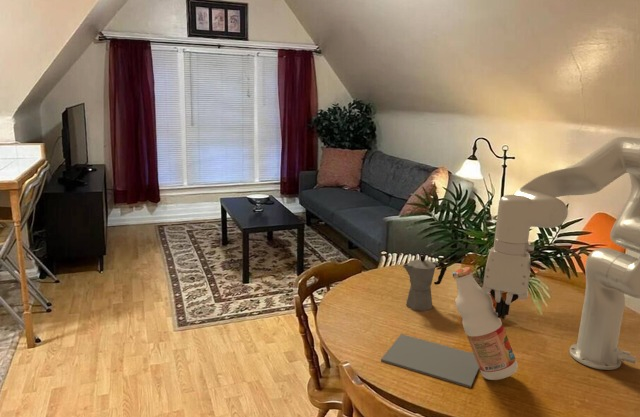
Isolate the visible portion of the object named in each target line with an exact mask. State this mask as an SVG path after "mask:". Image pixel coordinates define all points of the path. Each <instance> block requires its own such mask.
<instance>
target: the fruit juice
mask: <svg viewBox="0 0 640 417" xmlns="http://www.w3.org/2000/svg"><path fill="white" fill-rule="evenodd" d="M473 273H474V272H473V269H472V267H470V266H465V267H462V268H458V269H456V270H454V271H453V272H452V277H453V279H454V280H455V282H456V287H457V296H456V299H455V307H456V310H457V312H458V313H459V315H460V316H461V318H462V322H461V324H462V327H463V330H464V333H465V335H466V338H467V341H468V343H469V345H470V349H471V350H472V351H471V352H472V353H473V354H474V356H475V359H476V361H477V364H478V367H479V371H480V374H481V375H482V377H483V378H484V379H486V380H488V381H489V380H490V381H499V380H503V379H505V378H506V379H507V378H508V377H511V376H512V375H514V374H515V373H516V372H517V371H518V368H519V367H518V365H519V364H518V361H517V359H516V356H515V353H514V351H513V348H512V346H511V343H510V340H509V338H508V336H507V332H506V330H505V328H504V325H503V322H502V318H497V316H498V313H496V312H495V311H496V309H495V308H494V303H493V297H492V295H491V294H490V293H488V292H486V291H483V290H482V286H480V285H479V284H478V282H477V281H476V280H475V278H474V277H473Z"/></svg>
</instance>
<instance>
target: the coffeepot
mask: <svg viewBox="0 0 640 417" xmlns="http://www.w3.org/2000/svg"><path fill="white" fill-rule="evenodd" d="M438 262H440V263H438ZM444 265H446V263H445V262H444V261H442V262H441V261H430V260H427V259H426V256H425V255H420V259H417V258H416V259H413V260H409V261H408V262H407V263H405V264H403V266H402V267H403V268H404V269H405V270H406V272H407V274H408V276H409V283H410V287H409V291H408V295H407V299H406V307H408V309H411V310H412V311H417V310H418V311H419V312H426V311H431V309H433V301H432V300H433V299H432V288H431V285H432V284H434V285H437V286H438V285H440V284H441V282H442V280H443V278H444V276H445V273H446V271H447V268H448V266H447V267H445V268H442V267H443V266H444ZM437 268H441V269H440V272H439V275H438V277H437V281H434V280H433V279H434V274H435V270H436V269H437ZM433 281H434V283H433Z"/></svg>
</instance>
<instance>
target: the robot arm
mask: <svg viewBox="0 0 640 417" xmlns="http://www.w3.org/2000/svg"><path fill="white" fill-rule="evenodd" d="M624 174H628V175H629V178H630V184H631V186H630V187H631V188H630V192H629V193H630V194H629V195H628V198H627V200H626V202H625V204H624V205H623V208H621V211H620V213H619V215H618V216H617V218H616V219H615V221H614V223H613V226H612V228H611V230H610V234H609V237H610V240H611V241H612V242H613V243H614V244H615V245H617V246H618V247H621V248H623V249H626V250H629V251H630V252H633V253H638V254H640V138H638V137H632V136H629V137H628V136H619V137H616V138H613V139H611V140H610V141H609V140H608V142H606V143H604V144H603V145H601V146H600V147H599V148H597V149H596V150H594V151H593V152H591V153H590V154H588V155H587V156H586V157H583V159H581V160H579V161H578V162H577V163H575V164H573V165H572V164H571V165H569V166H566V167H562V168H558V169H555V170H552V171H549V172H546V173H544V174H540V175H538V176H535V177H534V178H533V179H531V180H530V181H528V182H526V183H525V184H524V185H522V186H520V187H519V188H518V189H517V190H516V191H515V192H514V193H513V194H506V195H503V196H502V197H500V198H499V201H498V206H497V214H496V215H497V216H496V222H495V223H496V224H495V231H494V232H495V233H494V240H493V241H494V242H493V246H492V247H491V248H490V250H489V253H488V256H487V259H486V265H485V270H484V274H483V275H484V276H483V284H482V286H481V288H482V290H483V291H486V292H488V293H489V294H490V296H491V297H492V298H493V299H494V300H495V303H496V304H495V312H496V313H498V316H497V318H500V319H501V320H505V318H506V316H508V315H509V313H510V307H511V306H510V305H511V304H512V303H513V302H514V301H515V302H516V301H517V300H527V299H528V297H529V292H528V288H529V285H530V278H531V276H530V275H531V254H530V252H534V250H535V245H532V244H531V243H529V237H530V229H531V228H540V229H541V228H543V229H553V228H557V227H559V226H560V225H562V224H564V223H565V221H566V219H567V218H568V215H569V214H568V213H569V210H568V207H567V205H566V203H565V202H564V201H562V200H561V199H559V197H566V196H567V197H569V196H585V195H591V194H597V193H599V192H600V191H601V190H603V189H604V188H606V187H607V186H608V185H611V183H613V182H615V180H618V179H619V178H620V177H621V176H623V175H624ZM584 269H585V290H584V291H585V292H584V299H583V306H582V309H581V310H582V311H581V318H580V324H579V328H578V329H579V330H578V336H577V341H576V342H577V343H573V344H572V345H570V347H569V355H570V356H571V357H572V358H573V360H575V361H576V362H579V363H580V364H582V365H584V366H586V367H590V368H593V369H597V370H603V371H605V370H606V371H610V370H613V371H614V370H617V369H618V368H620V367H621V365H622V361H625V362H627V363H631V364H636V363H637V362H636V361H637V356H635V355H631V351H629V350H628V351H627V350H622V349H621V348H619V338H620V333H621V329H622V328H621V327H622V322H623V316H624V312H625V306H626V298H625V295H626V296H628V297H629V296H630V297H631V298H634V299H638V300H640V256H639V258H638V257H636V256H635V257H634V256H632V255H630V254H628V253H624V252H622V251H619V250H616V249H613V248H610V247H600V248H596V249H594V250H593V251H591V252H590V253H589V254H588V256H587V258H586V260H585V268H584ZM503 293H507V295H506V298H505V299H504V298H503Z"/></svg>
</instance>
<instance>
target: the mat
mask: <svg viewBox="0 0 640 417" xmlns="http://www.w3.org/2000/svg"><path fill="white" fill-rule="evenodd" d="M380 361H381V362H383V363H387V364H389V365H393V366H397V367H399V368H403V369H407V370H410V371H413V372H416V373H421V374H423V375H427V376H430V377H432V378H436V379H440V380H443V381H446V382H449V383H453V384H457V385H460V386H463V387H467V388H470V389H471V388H472V386H473V384H474V382H475V379H476V376H477V375H478V371H480V369H479V367H478V364H477V361H476V359H475V356H474V354H473V352H472V351H471V352H470V351H466V350H463V349H459V348H456V347H451V346H447V345H444V344H440V343H437V342H433V341H429V340H425V339H421V338H417V337H414V336H410V335H406V334H402V333H401V334H400V335H399V336H398V338H396V340H394V342H393V343H392V345H391V346H390V347H389V349H387V351H386V352H385V354H383V356H382V357H381V358H380Z"/></svg>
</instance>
